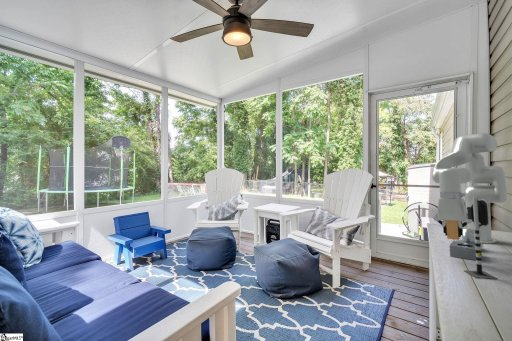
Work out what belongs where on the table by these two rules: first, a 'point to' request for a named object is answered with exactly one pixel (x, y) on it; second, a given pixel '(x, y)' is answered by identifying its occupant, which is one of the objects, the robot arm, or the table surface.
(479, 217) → the miniature traffic light
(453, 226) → the tan flared block
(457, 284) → the table surface
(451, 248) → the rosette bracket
